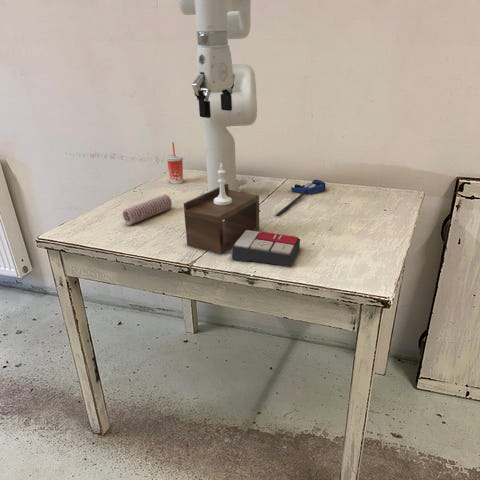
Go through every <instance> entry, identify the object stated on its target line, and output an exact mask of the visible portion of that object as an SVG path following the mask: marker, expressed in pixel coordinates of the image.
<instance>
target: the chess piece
mask: <svg viewBox="0 0 480 480" xmlns="http://www.w3.org/2000/svg"><path fill="white" fill-rule="evenodd" d="M219 169H220V170H219V171H218V174H219V177H220V179H219V180H218V182H220V193H219V195H218V197H216V198H215V199H214V203H215V204H217V205H227V204H230V203H232V199H231V198H230V197H227V195H226V193H225V187H224V182H226V180H225V179H224V176H225V170H223V165H222V163H220V167H219Z"/></svg>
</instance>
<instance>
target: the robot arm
mask: <svg viewBox="0 0 480 480" xmlns="http://www.w3.org/2000/svg"><path fill="white" fill-rule="evenodd" d="M251 3H252V1H251V0H177V5H178V8H179V10H180V13H182V14H183V15H185V16H195V20H194V27H195V35H196V39H197V49H196V51H197V52H196V78H195V79H194V80H193V82H192V84H191V87H192V89H193V92H194V96H195V97H196V100H197V101H198V112H199V113H198V114H199V117H200V118H201V121H202V126H203V131H204V132H203V133H204V144H205V161H206V162H205V163H206V176H207V189H205V190H204V191H203V194H205V193H207V192H209V191H211V190H214V189H216V188H218V187H220V182H218V180H219V179H220V177H219V174H218V171H219V170H220V169H219V167H220V163H222V165H223V170H225V176H224V179H225V180H226V182H224V185H225V184H228V190H232V191H238V192H242V190H241V189H240V187H241V186H245V185H247V183H248V181H247V179H246V178H241V179H239V178H237V166H236V164H237V163H236V141H235V138H234V136H233V134H232V132H230V131H229V130H228V127H247V126H251V125H254V124H255V123H256V121H257V118H258V99H257V81H256V74H255V71H254V69H253V67H252V66H251V65H250V64H246V63H233V61H232V52H231V49H230V45H229V40H242V39H245V38H247V37H248V36H249V34H250V32H251V20H252V19H251V12H252V11H251Z"/></svg>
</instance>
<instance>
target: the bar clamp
mask: <svg viewBox="0 0 480 480" xmlns="http://www.w3.org/2000/svg"><path fill="white" fill-rule="evenodd" d="M326 185H327V184H326V182H324V181H322V180H320V179H313V180H312V181H311V183H310V182H307V183H306V184H303V185H300V184H297V183H295V184H294V187H293V186H291V187H290V190H291V192H297V193H300V194H299V195H298V196H297V197H295V198H294V199H293V200H292V201H291V202H290V203H288V204H287V205H286V206H285V207H284V208H283V209H281V210H280V211H279V212H277V213H276V214H275V216H277V217H280V216H281V215H282V214H283V213H284V212H286V211H287V210H288V209H289V208H291V207H292V205H294V204H296V202H297V201H299V200H300V199H301V198H302V197H303V196H305V195H314V194H318V193H322V192H325V191H326Z"/></svg>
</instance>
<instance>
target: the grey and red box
mask: <svg viewBox="0 0 480 480" xmlns="http://www.w3.org/2000/svg"><path fill="white" fill-rule="evenodd" d="M300 246H301V238H299V237H298V236H294V235H289V234H282V233H275V232H267V231H250V230H246V231H244V232H243V233H242V235H241V236H240V237H239V238H238V240H237V241H236V242H235V243H234V245H233V246H232V247H231V259H232V260H233V261H234V260H235V261H241V262H246V263H247V262H249V261H253V262H259V263H265V264H272V265H277V266H284V267H291V266H292V264H293V263H294V260H295V258H296V256H297V254H298V253H299V250H300Z"/></svg>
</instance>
